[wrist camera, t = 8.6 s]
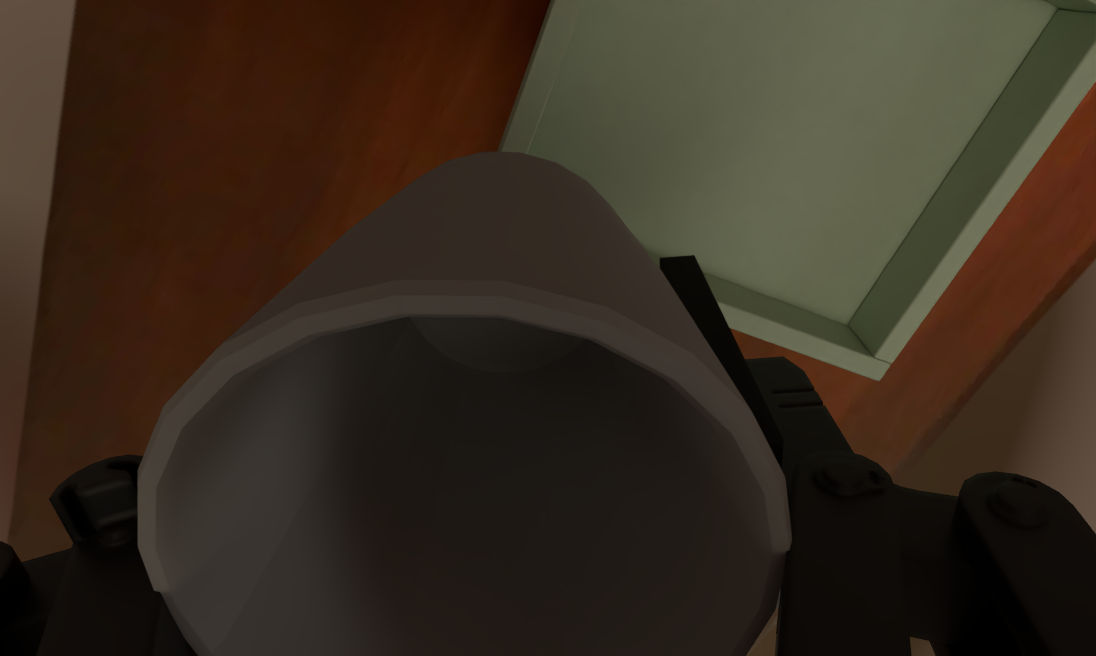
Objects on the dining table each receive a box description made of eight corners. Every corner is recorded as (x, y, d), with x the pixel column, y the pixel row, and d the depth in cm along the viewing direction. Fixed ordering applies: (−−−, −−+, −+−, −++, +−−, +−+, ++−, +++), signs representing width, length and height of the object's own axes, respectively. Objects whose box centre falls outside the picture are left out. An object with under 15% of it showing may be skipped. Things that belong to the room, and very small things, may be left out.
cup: (741, 188, 15) (941, 444, 7) (550, 515, 19) (554, 883, 12) (391, 32, 13) (189, 154, 6) (273, 426, 18) (73, 783, 10)
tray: (506, 99, 45) (468, 241, 23) (590, -144, 39) (652, -277, 17) (721, 185, 48) (876, 386, 25) (832, -30, 42) (1164, -12, 19)
